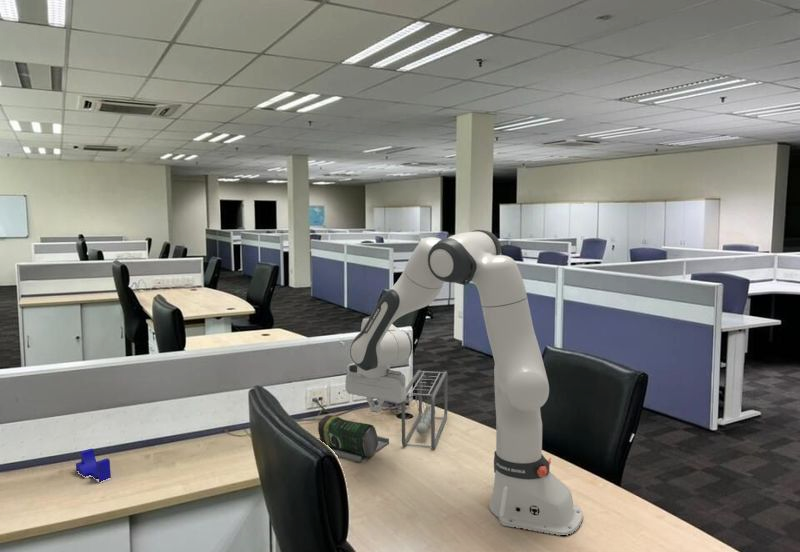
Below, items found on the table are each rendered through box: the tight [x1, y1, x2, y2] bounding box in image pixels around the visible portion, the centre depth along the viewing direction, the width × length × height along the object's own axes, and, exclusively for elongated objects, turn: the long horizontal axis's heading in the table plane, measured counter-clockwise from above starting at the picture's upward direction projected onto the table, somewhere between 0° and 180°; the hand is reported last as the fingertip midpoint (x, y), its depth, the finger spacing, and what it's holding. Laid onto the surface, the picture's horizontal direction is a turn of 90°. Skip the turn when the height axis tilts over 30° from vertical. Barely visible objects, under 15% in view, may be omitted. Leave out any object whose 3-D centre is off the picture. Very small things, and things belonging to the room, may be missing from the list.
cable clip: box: [75, 447, 112, 482], centre depth 162 cm, size 12×4×6 cm, turn 50°
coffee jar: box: [317, 414, 378, 459], centre depth 176 cm, size 10×8×19 cm
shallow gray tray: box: [318, 435, 390, 464], centre depth 181 cm, size 20×16×2 cm
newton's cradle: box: [401, 369, 449, 450], centre depth 192 cm, size 30×10×18 cm, turn 167°
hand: (375, 411), depth 175 cm, fingers closed
